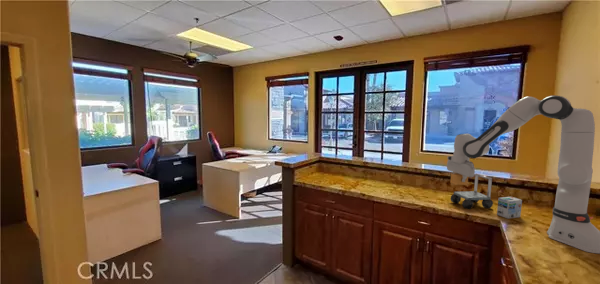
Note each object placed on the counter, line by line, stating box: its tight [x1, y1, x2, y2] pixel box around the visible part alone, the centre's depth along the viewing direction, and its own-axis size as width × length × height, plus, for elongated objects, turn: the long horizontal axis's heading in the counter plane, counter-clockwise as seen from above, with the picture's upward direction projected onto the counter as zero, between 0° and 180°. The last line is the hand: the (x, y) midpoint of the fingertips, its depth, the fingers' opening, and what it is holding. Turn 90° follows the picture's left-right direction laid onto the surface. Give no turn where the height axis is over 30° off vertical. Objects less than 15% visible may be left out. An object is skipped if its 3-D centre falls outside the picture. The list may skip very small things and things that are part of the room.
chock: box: [450, 173, 469, 186], centre depth 166 cm, size 5×8×6 cm, turn 97°
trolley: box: [450, 173, 494, 210], centre depth 174 cm, size 13×20×20 cm, turn 97°
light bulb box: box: [496, 196, 523, 219], centre depth 157 cm, size 11×7×11 cm, turn 105°
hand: (459, 180), depth 166 cm, fingers closed on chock, 5 cm apart
